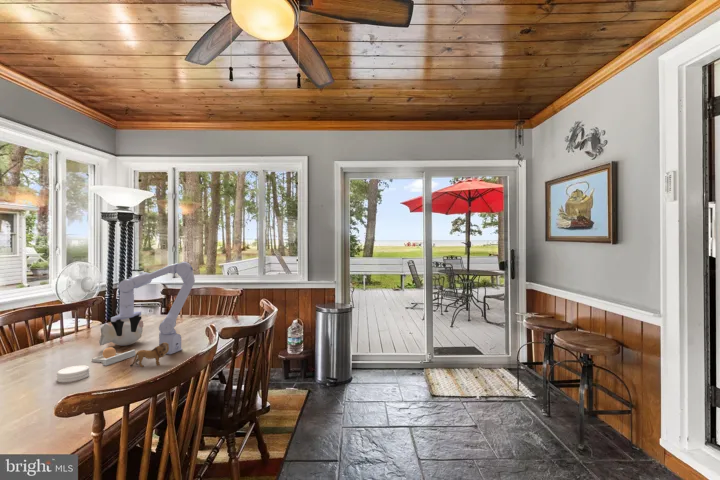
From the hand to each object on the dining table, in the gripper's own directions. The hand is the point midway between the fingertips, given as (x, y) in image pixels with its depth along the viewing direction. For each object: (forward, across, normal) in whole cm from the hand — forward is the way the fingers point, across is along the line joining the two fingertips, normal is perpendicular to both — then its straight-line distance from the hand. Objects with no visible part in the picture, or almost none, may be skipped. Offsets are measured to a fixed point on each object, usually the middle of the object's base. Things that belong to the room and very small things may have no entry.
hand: (126, 333), depth 169 cm
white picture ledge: (+10, +6, +4) cm, 12 cm away
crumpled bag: (+10, -13, -17) cm, 24 cm away
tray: (+10, +7, -2) cm, 12 cm away
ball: (+10, +7, -2) cm, 12 cm away
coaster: (+10, +28, +5) cm, 30 cm away
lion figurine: (+10, +8, +22) cm, 25 cm away
